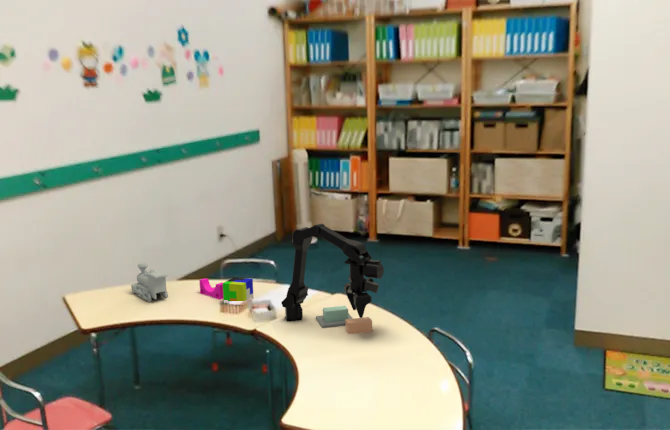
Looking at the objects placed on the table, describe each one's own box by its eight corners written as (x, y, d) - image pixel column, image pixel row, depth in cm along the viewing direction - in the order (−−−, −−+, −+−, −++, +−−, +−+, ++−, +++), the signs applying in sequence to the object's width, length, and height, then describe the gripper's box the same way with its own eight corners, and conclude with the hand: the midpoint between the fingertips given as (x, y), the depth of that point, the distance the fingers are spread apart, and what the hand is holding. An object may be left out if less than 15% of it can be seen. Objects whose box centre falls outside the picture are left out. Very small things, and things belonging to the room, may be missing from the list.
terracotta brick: (348, 334, 244) (348, 323, 243) (345, 330, 249) (345, 319, 248) (372, 331, 246) (372, 320, 245) (368, 327, 251) (368, 316, 250)
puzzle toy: (253, 299, 290) (252, 278, 289) (243, 306, 281) (242, 284, 279) (234, 298, 294) (233, 277, 292) (223, 304, 284) (222, 283, 283)
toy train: (150, 288, 313) (148, 259, 310) (174, 300, 292) (172, 269, 289) (128, 293, 306) (126, 263, 303) (152, 306, 285) (149, 274, 282)
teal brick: (325, 322, 255) (325, 311, 254) (322, 318, 259) (322, 307, 259) (348, 319, 257) (348, 309, 256) (345, 315, 262) (345, 305, 261)
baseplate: (322, 328, 251) (322, 325, 251) (315, 318, 262) (315, 316, 262) (355, 324, 254) (355, 321, 254) (348, 314, 266) (348, 312, 266)
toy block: (230, 297, 295) (230, 282, 294) (220, 300, 290) (219, 285, 289) (210, 291, 305) (209, 277, 303) (200, 295, 300) (199, 279, 299)
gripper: (384, 279, 236) (384, 319, 239) (369, 267, 254) (370, 304, 257) (355, 282, 234) (356, 322, 237) (343, 269, 252) (344, 307, 254)
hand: (357, 313), depth 246 cm, fingers open, 9 cm apart
